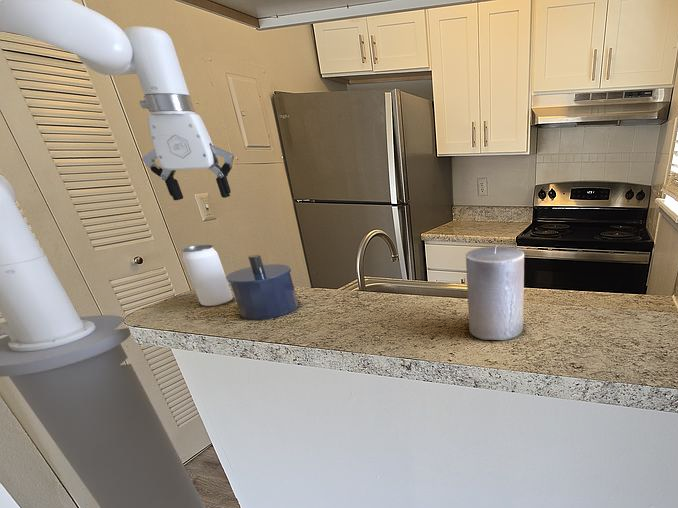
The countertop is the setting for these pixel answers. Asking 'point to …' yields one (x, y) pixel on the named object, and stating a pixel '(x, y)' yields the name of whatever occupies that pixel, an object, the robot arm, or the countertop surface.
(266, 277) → the pot lid
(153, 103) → the robot arm
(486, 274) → the pillar candle
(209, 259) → the can
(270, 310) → the pot
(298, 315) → the countertop surface
